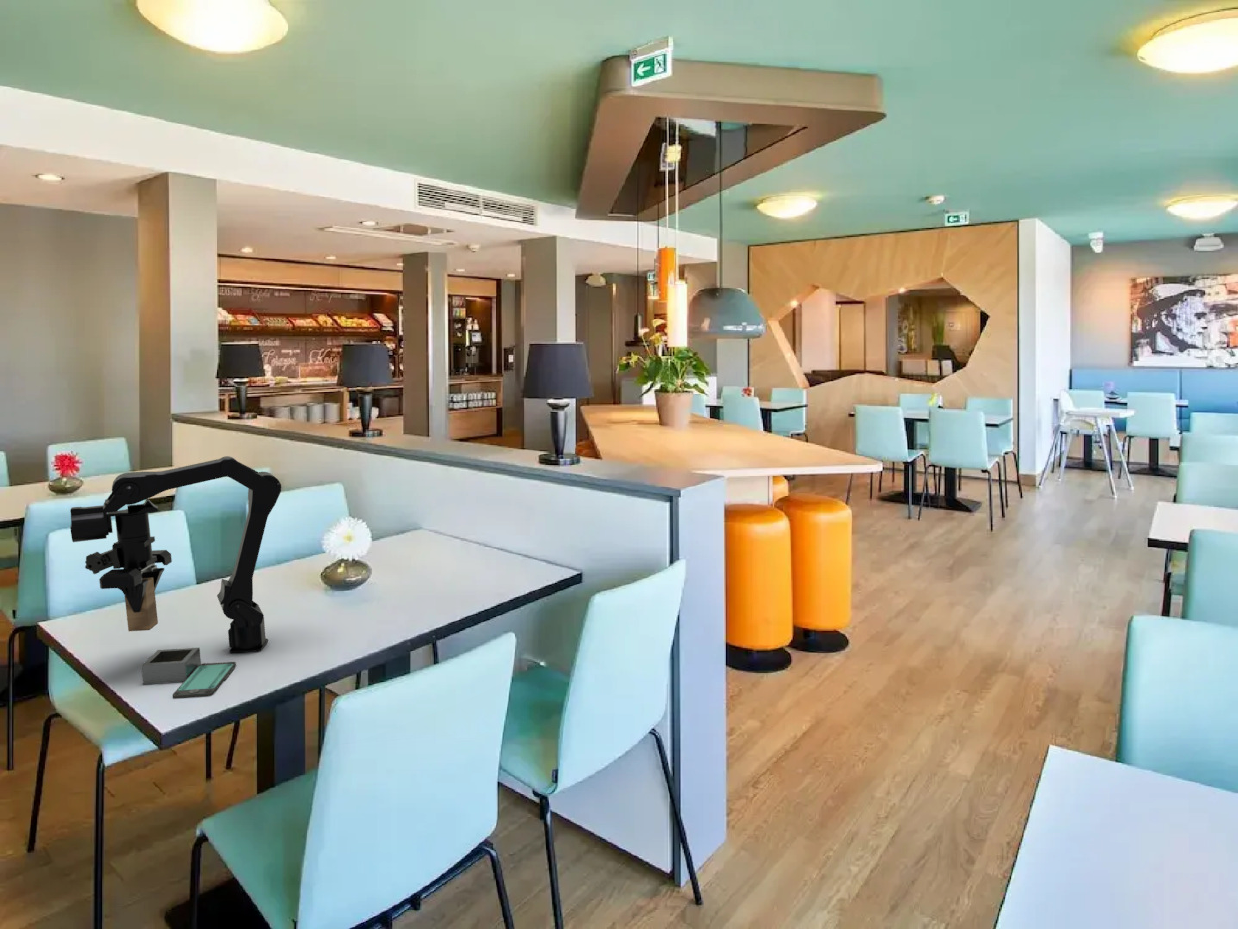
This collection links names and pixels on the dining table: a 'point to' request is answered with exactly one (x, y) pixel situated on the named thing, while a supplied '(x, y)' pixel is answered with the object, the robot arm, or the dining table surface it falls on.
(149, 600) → the rail post
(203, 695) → the smartphone
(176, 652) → the gray open box
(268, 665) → the dining table surface
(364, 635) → the dining table surface
